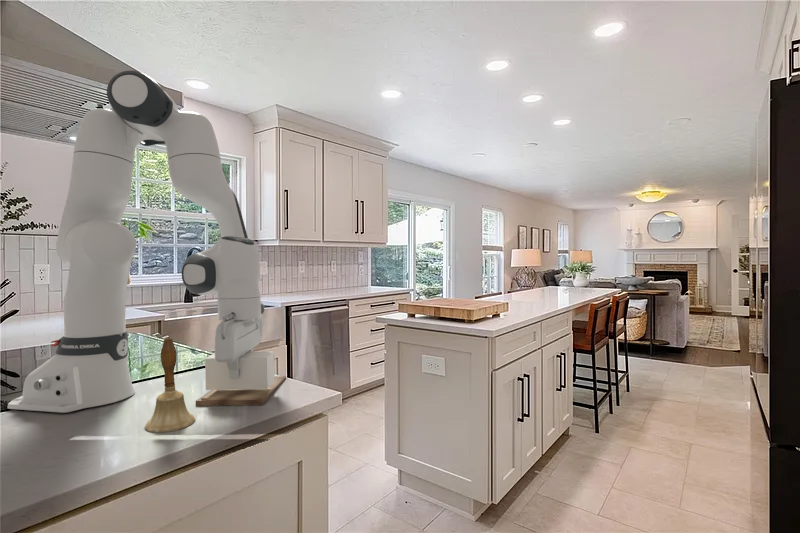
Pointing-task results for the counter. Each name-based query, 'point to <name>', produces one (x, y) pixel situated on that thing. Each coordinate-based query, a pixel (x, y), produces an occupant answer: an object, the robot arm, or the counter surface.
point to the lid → (241, 372)
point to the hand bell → (169, 398)
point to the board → (239, 395)
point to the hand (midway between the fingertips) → (240, 373)
